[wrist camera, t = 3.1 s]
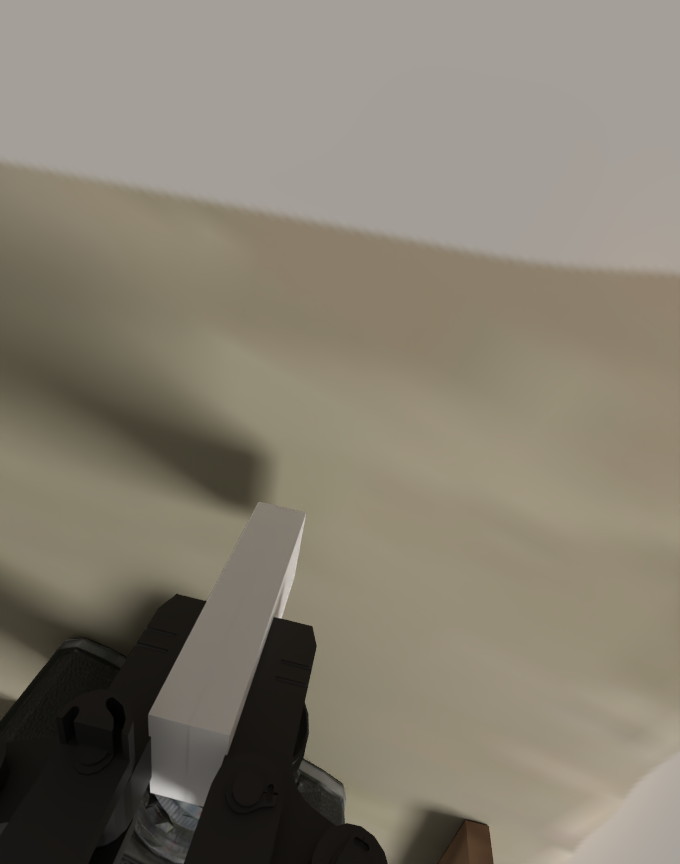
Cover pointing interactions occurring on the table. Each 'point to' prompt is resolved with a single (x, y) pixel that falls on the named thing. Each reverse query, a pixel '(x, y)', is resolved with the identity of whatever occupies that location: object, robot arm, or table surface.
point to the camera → (157, 815)
